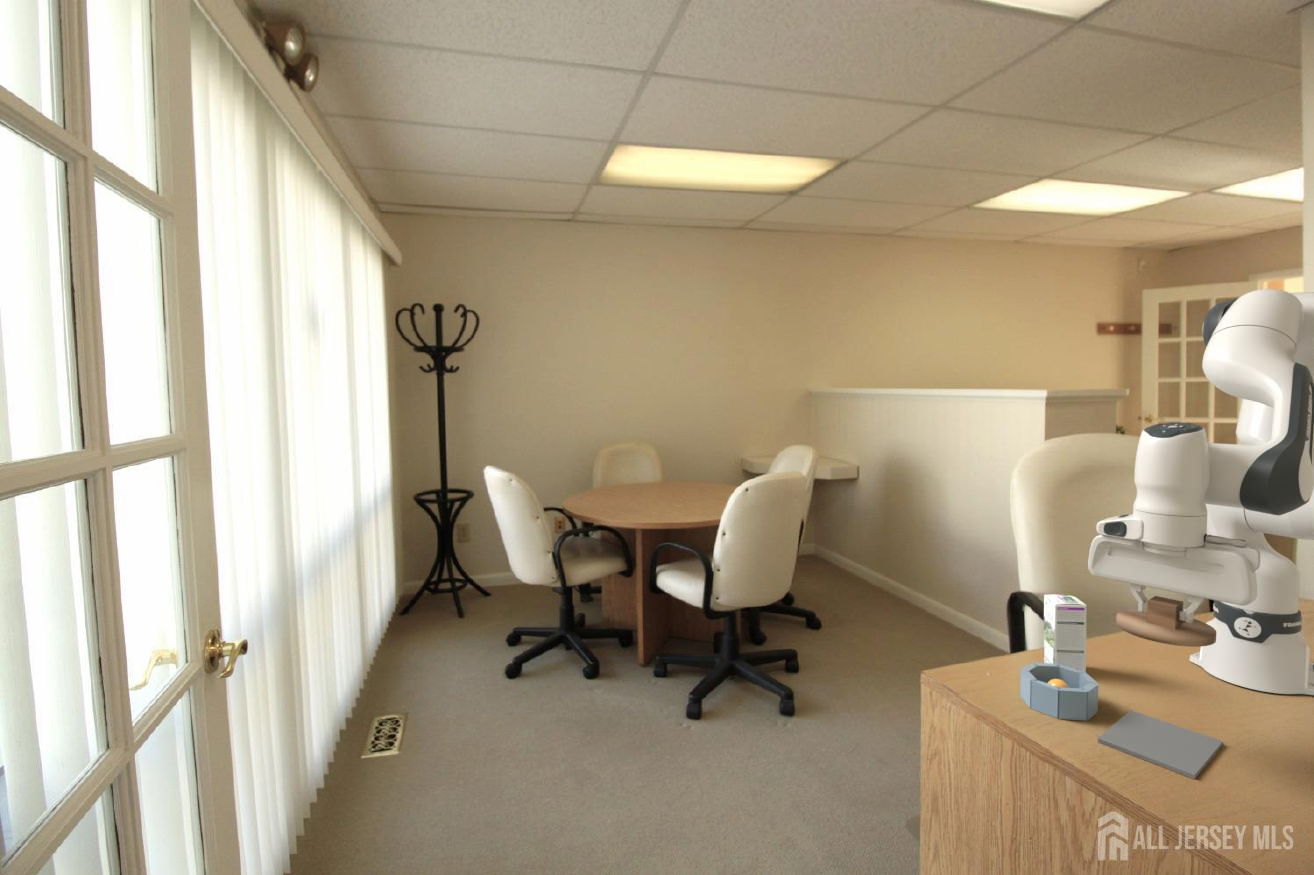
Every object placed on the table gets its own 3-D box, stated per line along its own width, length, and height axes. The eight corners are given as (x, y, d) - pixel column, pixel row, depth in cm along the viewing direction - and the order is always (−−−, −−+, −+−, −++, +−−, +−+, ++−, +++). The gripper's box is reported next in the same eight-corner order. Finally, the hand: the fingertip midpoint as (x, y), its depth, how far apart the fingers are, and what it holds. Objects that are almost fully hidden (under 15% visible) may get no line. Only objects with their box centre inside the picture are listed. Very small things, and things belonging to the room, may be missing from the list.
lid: (1132, 611, 105) (1133, 583, 105) (1226, 632, 96) (1227, 602, 95) (1103, 628, 98) (1104, 599, 98) (1202, 653, 89) (1203, 621, 88)
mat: (1131, 713, 108) (1131, 710, 107) (1222, 744, 98) (1223, 741, 98) (1097, 741, 99) (1097, 738, 99) (1194, 779, 90) (1194, 775, 90)
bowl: (1039, 683, 119) (1039, 658, 118) (1105, 706, 110) (1106, 678, 110) (1011, 701, 113) (1011, 674, 112) (1079, 726, 104) (1080, 697, 103)
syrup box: (1087, 677, 121) (1089, 604, 120) (1053, 675, 122) (1055, 603, 121) (1073, 664, 126) (1075, 594, 125) (1041, 662, 127) (1043, 593, 126)
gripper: (1266, 538, 89) (1261, 632, 90) (1100, 516, 106) (1098, 596, 107) (1255, 545, 86) (1250, 643, 87) (1085, 521, 102) (1082, 604, 103)
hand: (1164, 617), depth 97 cm, fingers closed on lid, 3 cm apart
